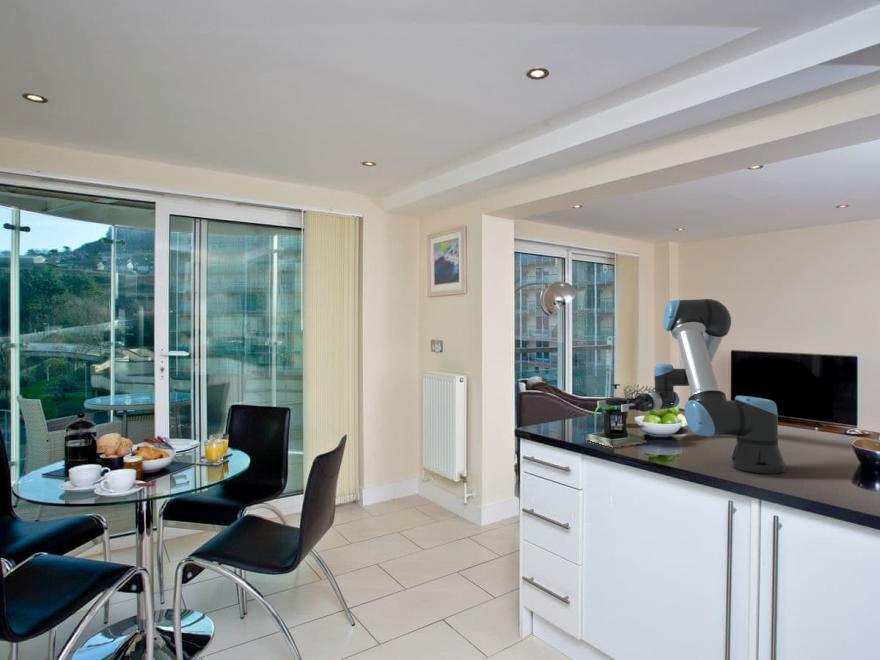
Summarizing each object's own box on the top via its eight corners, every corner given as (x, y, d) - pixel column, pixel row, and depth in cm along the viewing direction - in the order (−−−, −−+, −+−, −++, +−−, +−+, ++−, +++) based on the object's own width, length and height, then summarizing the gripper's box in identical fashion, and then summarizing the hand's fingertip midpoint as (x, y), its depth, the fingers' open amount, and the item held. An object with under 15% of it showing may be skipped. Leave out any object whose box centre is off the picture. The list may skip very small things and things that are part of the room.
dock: (646, 443, 206) (646, 436, 206) (612, 448, 199) (612, 440, 199) (617, 436, 221) (617, 429, 221) (585, 440, 213) (584, 433, 213)
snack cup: (597, 428, 241) (596, 406, 241) (592, 423, 251) (592, 403, 251) (631, 427, 239) (630, 406, 239) (625, 423, 250) (624, 402, 250)
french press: (616, 436, 217) (615, 382, 217) (634, 440, 208) (633, 384, 208) (596, 439, 211) (595, 384, 211) (614, 443, 203) (613, 386, 203)
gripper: (672, 414, 206) (632, 419, 198) (626, 407, 229) (589, 411, 220) (671, 396, 206) (632, 400, 198) (625, 390, 229) (588, 394, 220)
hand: (609, 406), depth 209 cm, fingers open, 13 cm apart
